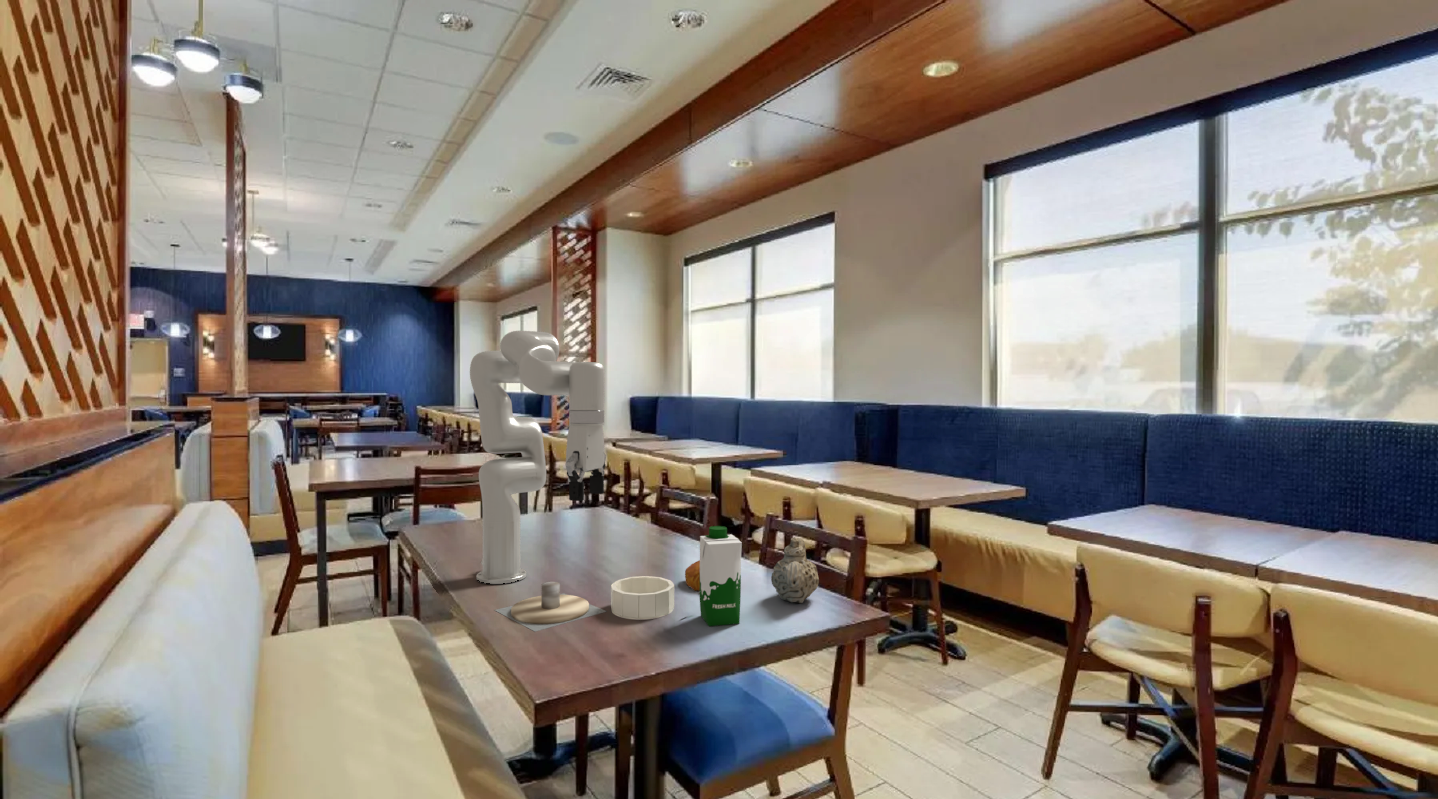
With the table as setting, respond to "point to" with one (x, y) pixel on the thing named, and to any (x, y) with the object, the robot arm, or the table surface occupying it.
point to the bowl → (642, 597)
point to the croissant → (693, 576)
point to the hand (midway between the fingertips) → (586, 496)
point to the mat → (537, 627)
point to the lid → (550, 607)
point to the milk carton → (720, 577)
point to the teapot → (795, 573)
